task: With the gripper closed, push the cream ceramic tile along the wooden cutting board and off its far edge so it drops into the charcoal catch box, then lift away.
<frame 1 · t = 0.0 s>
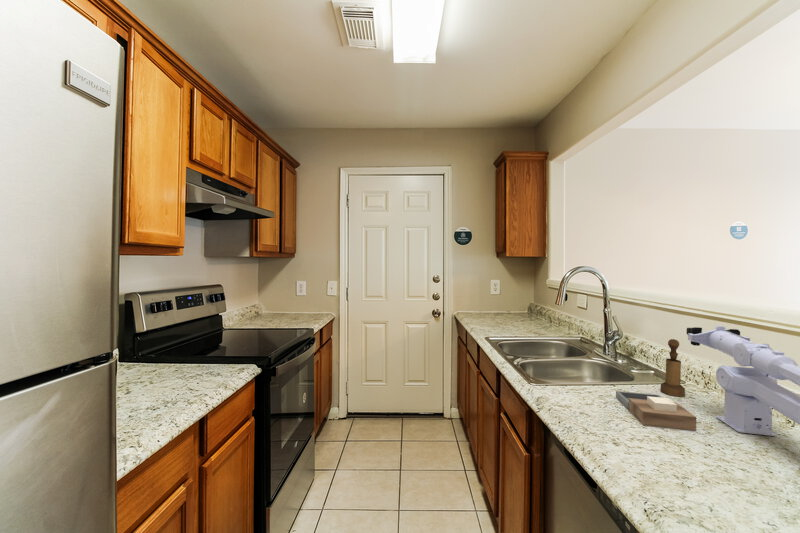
hand: (701, 331, 113), 22 cm above the counter, tool horizontal, fingers open, 7 cm apart
wooden cutting board: (660, 419, 97), on the counter
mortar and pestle: (672, 393, 118), on the counter
catch box: (643, 405, 108), on the counter
tile: (661, 407, 97), point 3 cm above the counter, touching wooden cutting board
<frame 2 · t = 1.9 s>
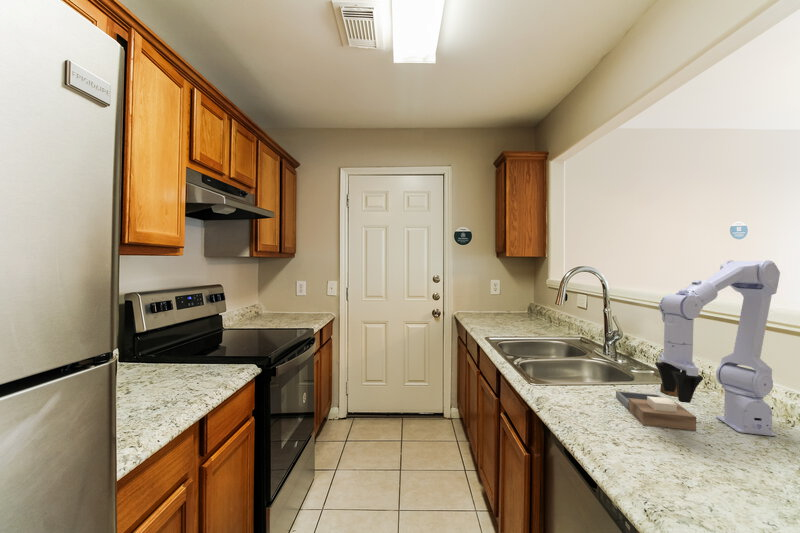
hand: (676, 396, 89), 10 cm above the counter, tool pointing down, fingers open, 7 cm apart
nothing on the counter moved.
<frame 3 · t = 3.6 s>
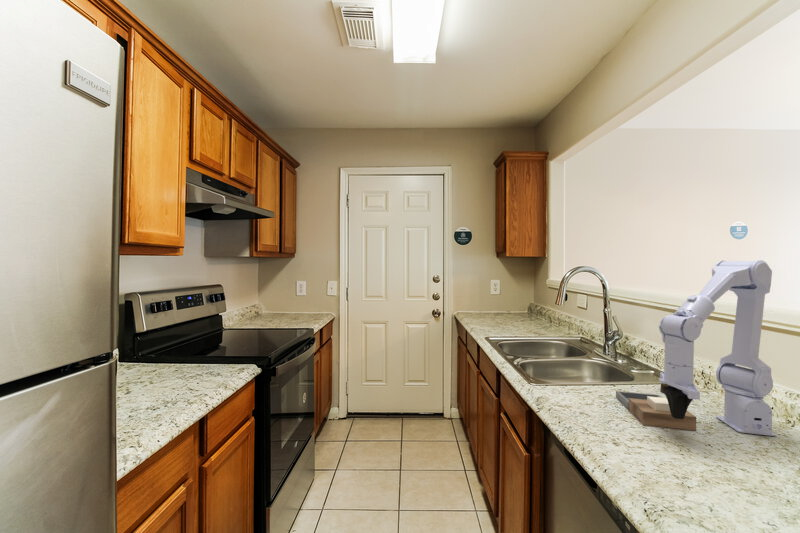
hand: (677, 417, 89), 4 cm above the counter, tool pointing down, fingers closed
nothing on the counter moved.
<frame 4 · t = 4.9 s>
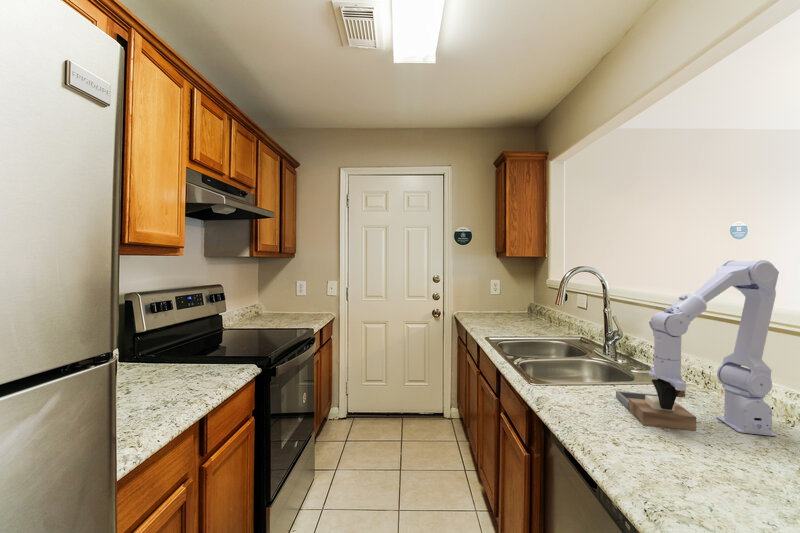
hand: (666, 408, 94), 4 cm above the counter, tool pointing down, fingers closed
tile: (659, 406, 98), point 4 cm above the counter, touching gripper, wooden cutting board
everything else where it was.
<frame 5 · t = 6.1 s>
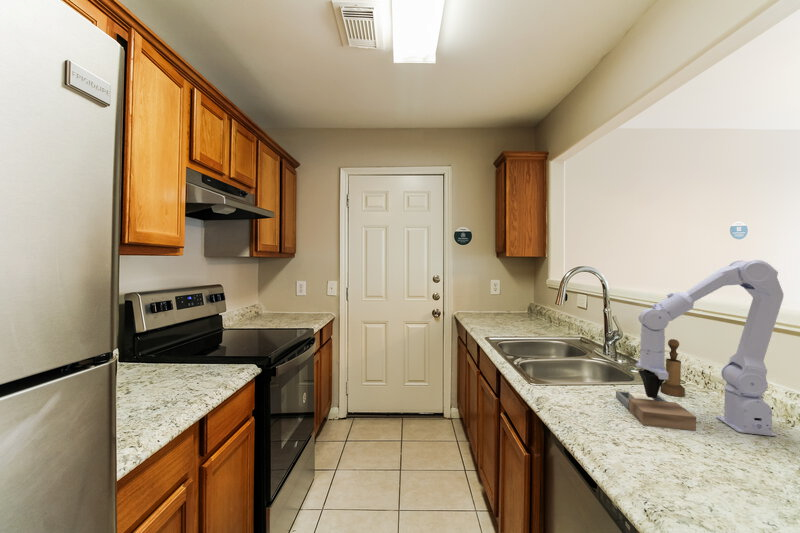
hand: (651, 396, 103), 4 cm above the counter, tool pointing down, fingers closed
tile: (641, 396, 109), point 2 cm above the counter, tilted 180°, touching catch box
everything else where it was.
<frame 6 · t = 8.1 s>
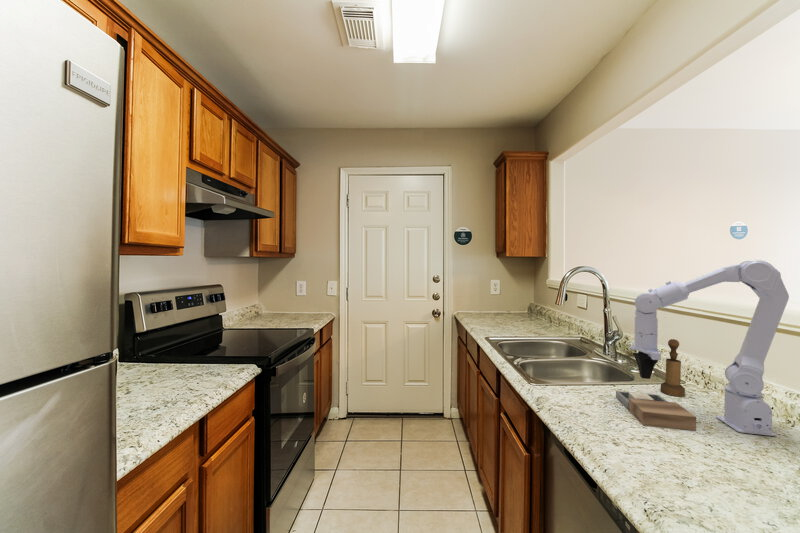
hand: (645, 377, 107), 8 cm above the counter, tool pointing down, fingers closed
nothing on the counter moved.
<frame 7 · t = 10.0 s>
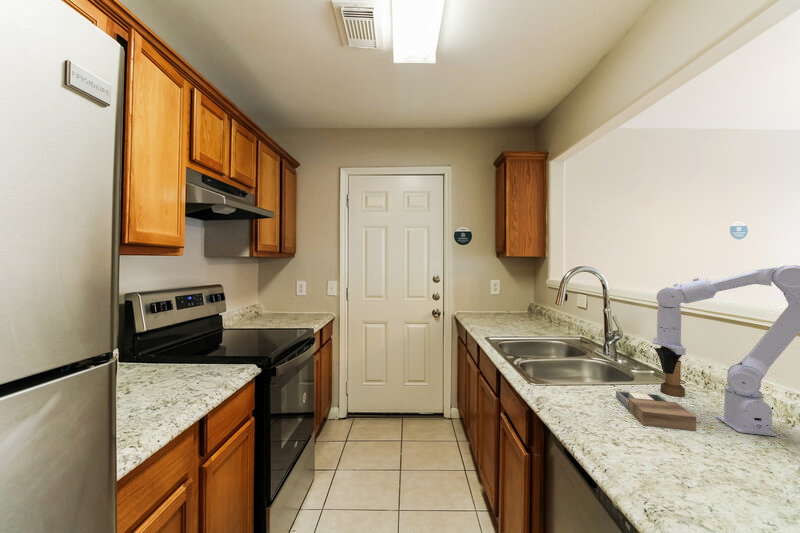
hand: (667, 373, 106), 10 cm above the counter, tool pointing down, fingers closed
nothing on the counter moved.
at the end: tile inside the target area on the catch box (1.0 cm from its centre), point 2.4 cm above the catch box's base; tile touching catch box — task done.
